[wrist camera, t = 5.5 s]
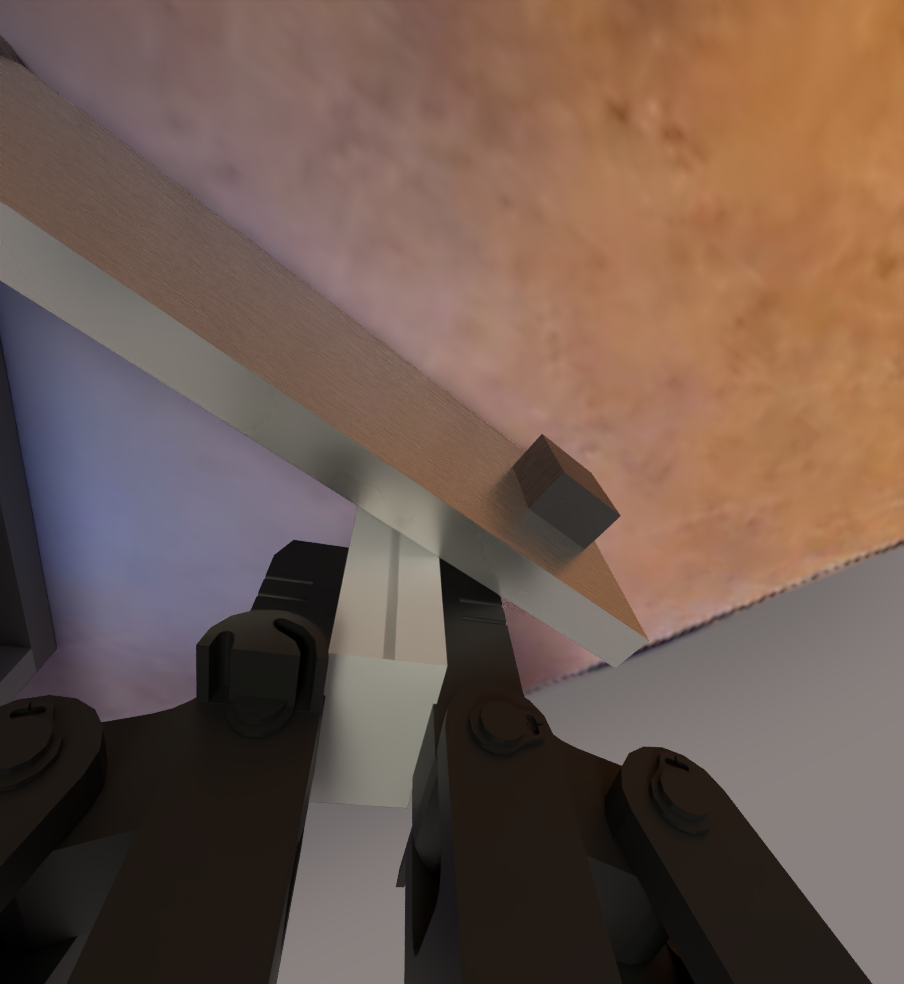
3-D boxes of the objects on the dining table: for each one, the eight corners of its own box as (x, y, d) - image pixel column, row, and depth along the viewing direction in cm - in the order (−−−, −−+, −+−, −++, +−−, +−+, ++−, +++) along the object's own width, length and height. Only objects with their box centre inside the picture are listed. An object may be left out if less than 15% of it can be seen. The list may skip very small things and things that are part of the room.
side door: (-56, 71, 10) (-708, -139, 4) (-23, -39, 9) (-742, -467, 4) (536, 503, 15) (606, 674, 9) (585, 452, 14) (694, 604, 9)
